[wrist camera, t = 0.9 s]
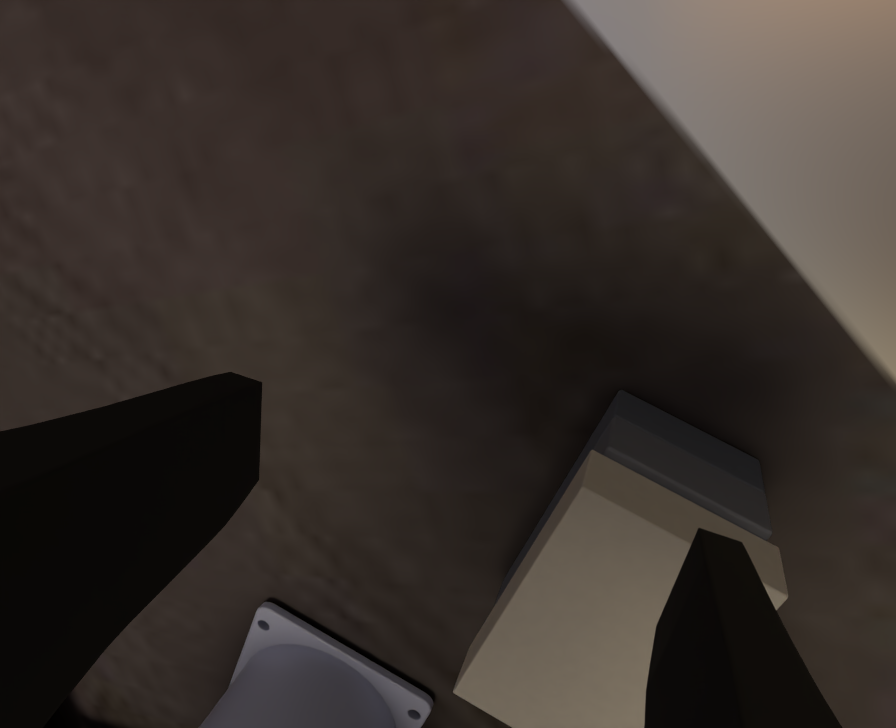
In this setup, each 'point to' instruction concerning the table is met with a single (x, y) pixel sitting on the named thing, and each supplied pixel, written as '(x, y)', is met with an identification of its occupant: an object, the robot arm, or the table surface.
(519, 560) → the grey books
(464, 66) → the table surface
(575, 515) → the beige box
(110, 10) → the table surface
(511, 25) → the table surface
